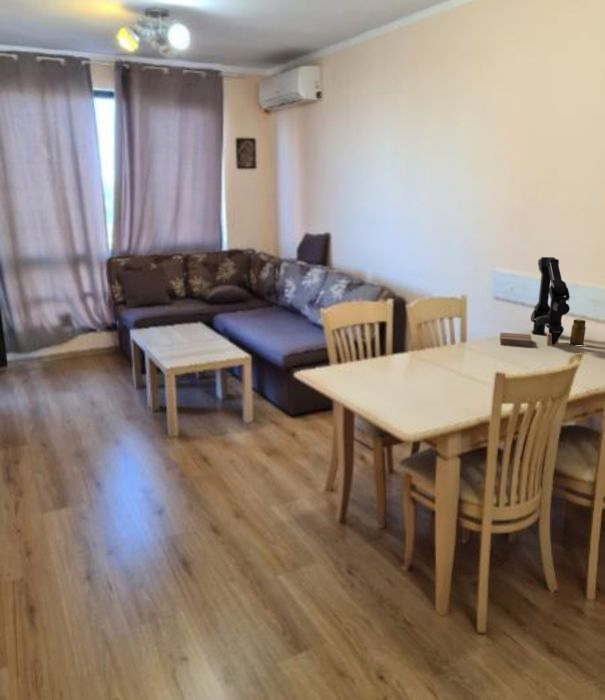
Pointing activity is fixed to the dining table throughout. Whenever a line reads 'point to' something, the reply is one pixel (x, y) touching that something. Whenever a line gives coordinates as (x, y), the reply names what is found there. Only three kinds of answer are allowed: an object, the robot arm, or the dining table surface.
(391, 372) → the dining table surface
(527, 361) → the dining table surface
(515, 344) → the base plinth
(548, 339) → the cube
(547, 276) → the robot arm
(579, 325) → the condiment
